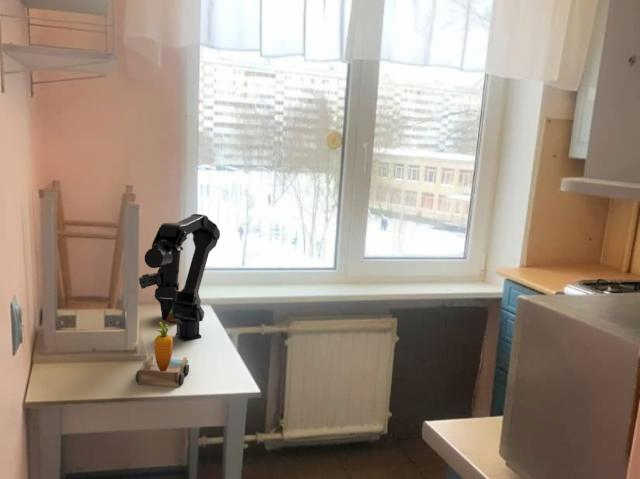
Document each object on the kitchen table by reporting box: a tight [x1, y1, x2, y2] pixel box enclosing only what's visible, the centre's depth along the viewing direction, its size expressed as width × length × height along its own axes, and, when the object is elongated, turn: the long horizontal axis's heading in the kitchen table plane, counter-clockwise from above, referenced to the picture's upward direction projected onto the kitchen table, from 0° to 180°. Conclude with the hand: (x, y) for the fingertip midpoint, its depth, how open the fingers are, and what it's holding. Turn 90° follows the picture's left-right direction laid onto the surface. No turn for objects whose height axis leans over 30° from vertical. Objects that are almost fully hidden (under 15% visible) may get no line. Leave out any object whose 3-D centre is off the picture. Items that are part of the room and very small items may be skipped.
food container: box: [164, 309, 178, 324], centre depth 211 cm, size 12×6×10 cm, turn 20°
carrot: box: [153, 321, 174, 371], centre depth 165 cm, size 5×5×15 cm
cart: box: [135, 354, 190, 388], centre depth 169 cm, size 17×13×4 cm
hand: (165, 316), depth 180 cm, fingers open, 9 cm apart
